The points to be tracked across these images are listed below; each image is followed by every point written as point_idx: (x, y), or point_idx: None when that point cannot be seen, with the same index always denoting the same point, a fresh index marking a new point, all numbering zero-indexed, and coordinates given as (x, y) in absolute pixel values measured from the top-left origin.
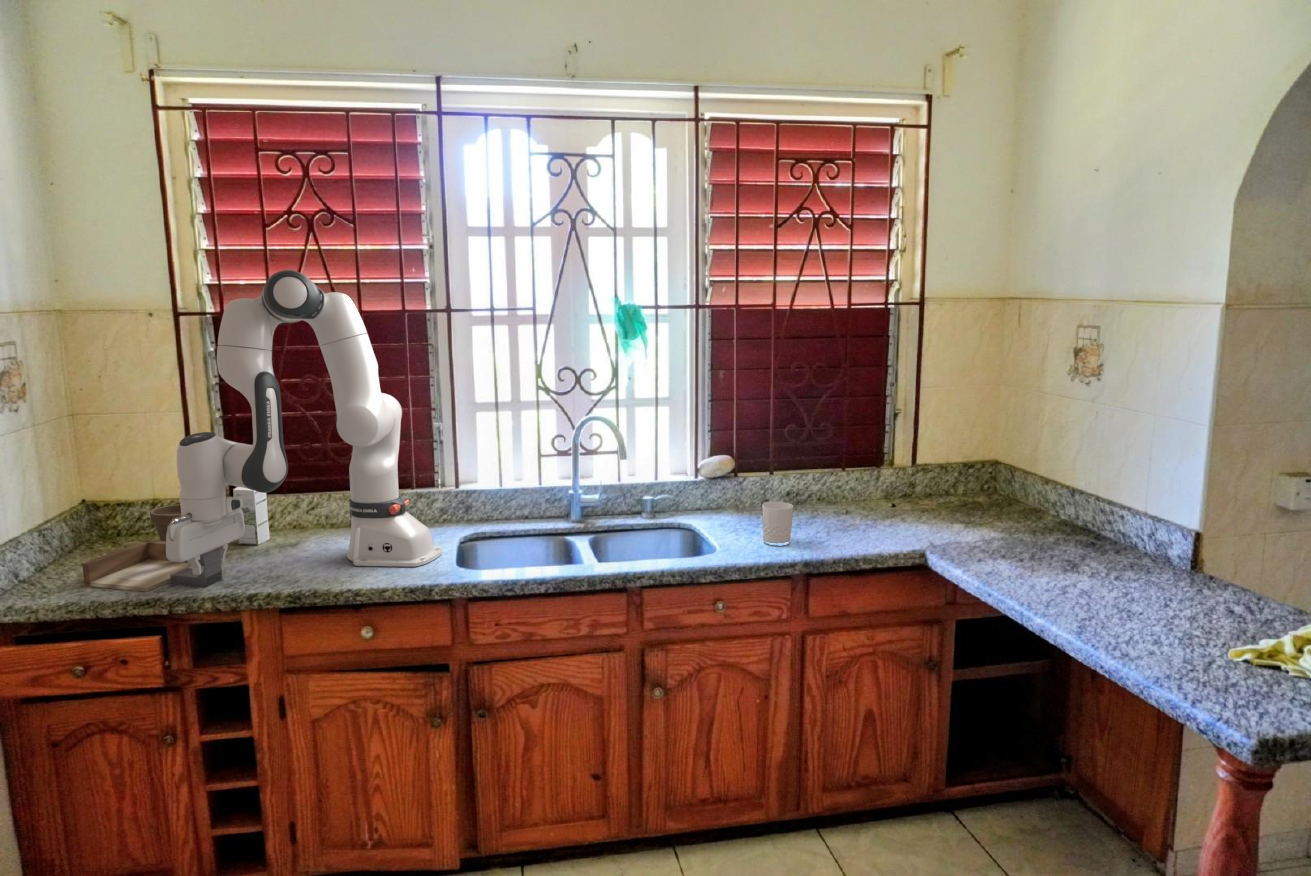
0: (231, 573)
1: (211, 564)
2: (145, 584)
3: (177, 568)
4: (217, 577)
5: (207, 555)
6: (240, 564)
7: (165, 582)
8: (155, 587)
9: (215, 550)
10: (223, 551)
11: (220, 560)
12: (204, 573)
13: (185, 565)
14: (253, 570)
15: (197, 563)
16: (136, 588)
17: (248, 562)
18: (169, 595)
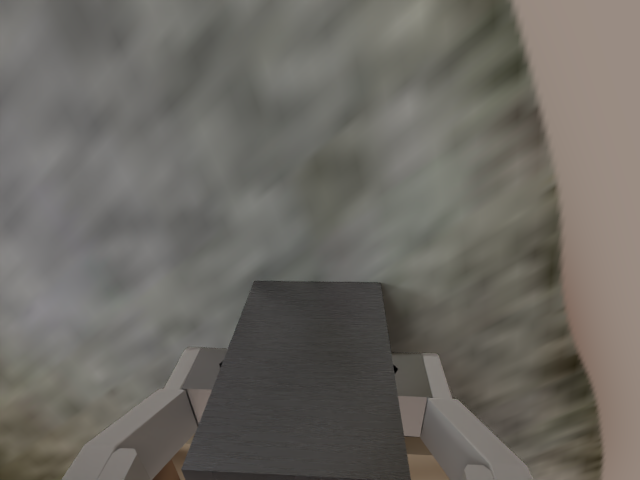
0: (162, 296)
1: (319, 375)
2: (443, 475)
3: None
4: (286, 296)
5: (355, 466)
6: (50, 333)
7: None
8: None
9: (229, 478)
10: (146, 431)
11: (221, 372)
12: (388, 345)
13: None
14: (62, 222)
15: (485, 435)
16: None
17: (7, 319)
18: (519, 356)
